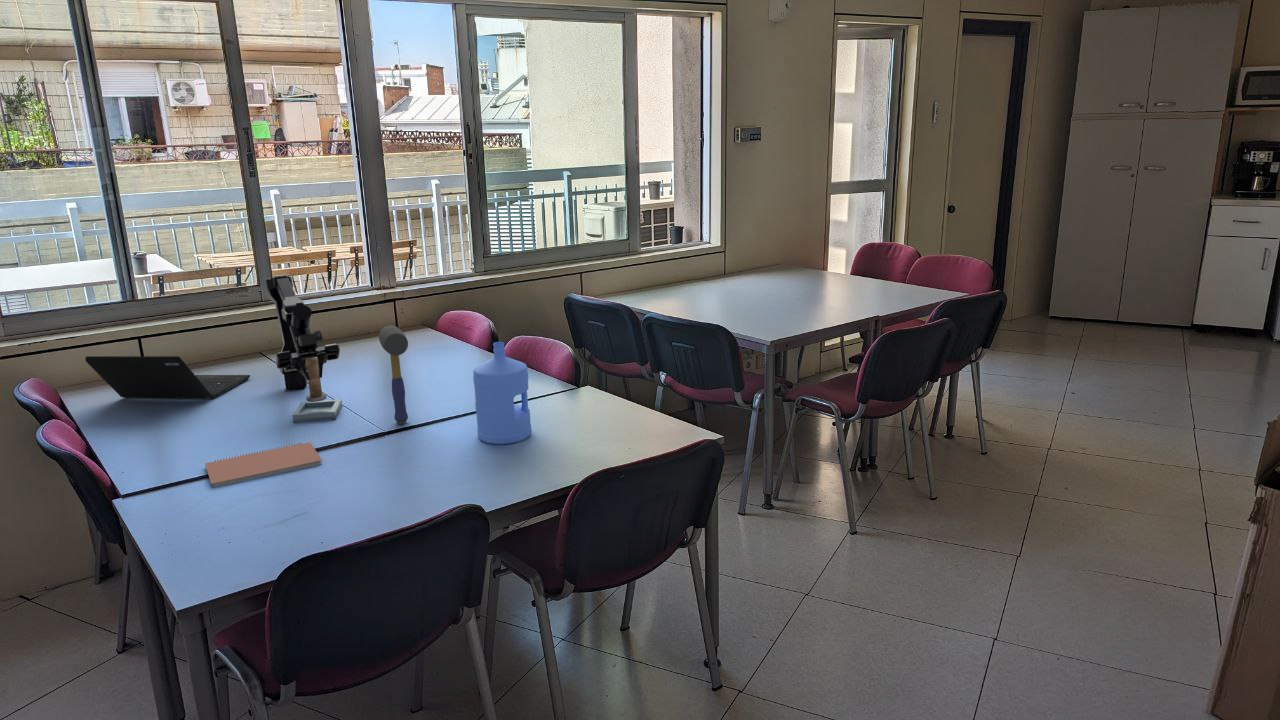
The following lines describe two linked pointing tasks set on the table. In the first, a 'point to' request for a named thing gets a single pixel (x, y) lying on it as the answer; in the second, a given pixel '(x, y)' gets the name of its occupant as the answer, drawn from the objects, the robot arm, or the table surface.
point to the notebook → (262, 464)
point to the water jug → (501, 399)
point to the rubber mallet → (396, 367)
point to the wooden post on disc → (314, 381)
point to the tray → (317, 410)
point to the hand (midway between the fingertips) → (314, 378)
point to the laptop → (159, 377)
